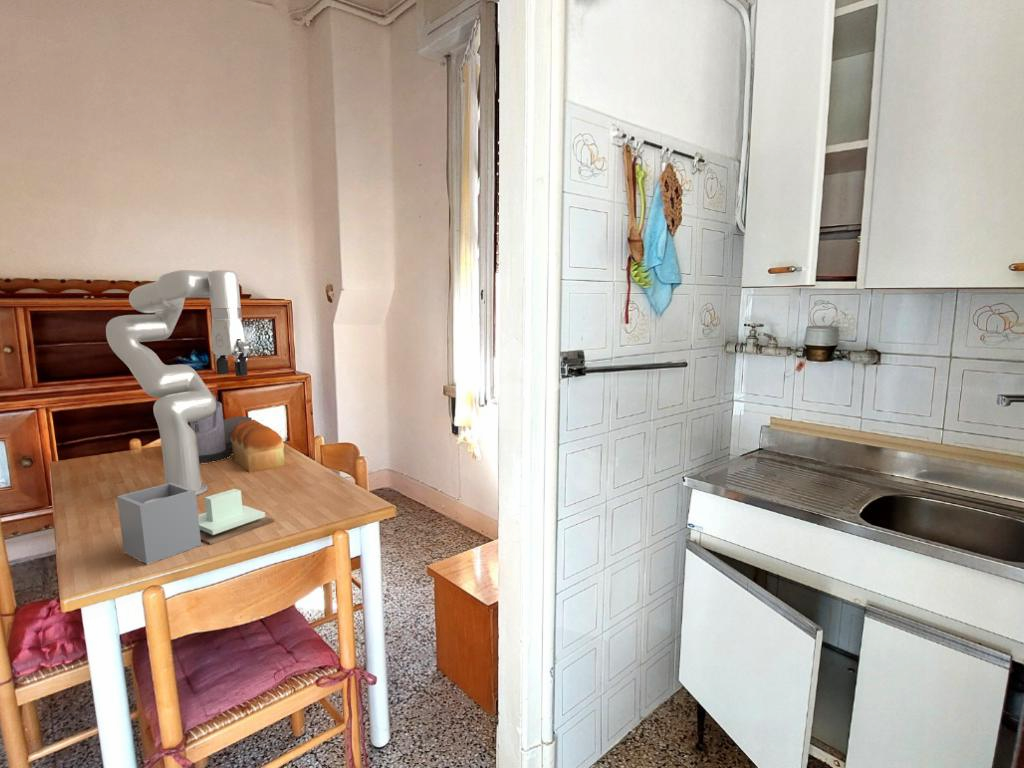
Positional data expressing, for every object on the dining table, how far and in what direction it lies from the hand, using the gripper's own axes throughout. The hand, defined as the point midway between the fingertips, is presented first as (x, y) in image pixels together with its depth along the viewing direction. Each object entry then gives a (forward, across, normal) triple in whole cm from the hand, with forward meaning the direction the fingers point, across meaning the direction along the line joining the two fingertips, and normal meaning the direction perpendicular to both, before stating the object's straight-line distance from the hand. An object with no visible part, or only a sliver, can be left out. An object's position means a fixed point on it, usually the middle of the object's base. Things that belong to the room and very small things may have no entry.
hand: (232, 374), depth 158 cm
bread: (+39, -37, +27) cm, 60 cm away
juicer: (+39, -62, +26) cm, 77 cm away
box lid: (+38, +13, -12) cm, 42 cm away
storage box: (+38, +14, -28) cm, 50 cm away
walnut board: (+38, +13, -12) cm, 42 cm away
